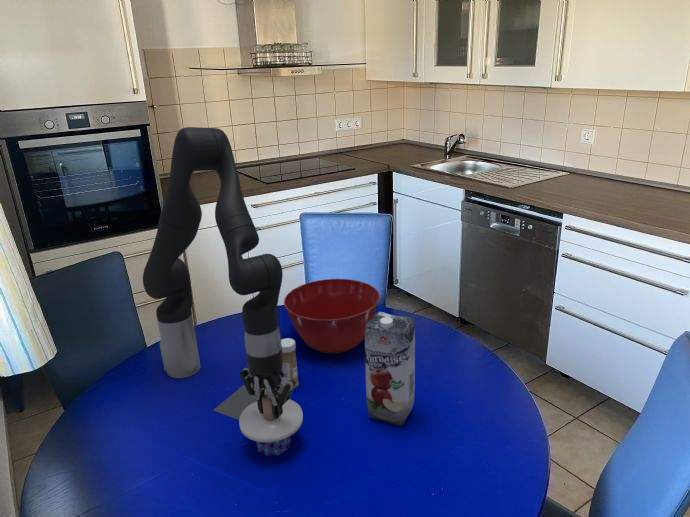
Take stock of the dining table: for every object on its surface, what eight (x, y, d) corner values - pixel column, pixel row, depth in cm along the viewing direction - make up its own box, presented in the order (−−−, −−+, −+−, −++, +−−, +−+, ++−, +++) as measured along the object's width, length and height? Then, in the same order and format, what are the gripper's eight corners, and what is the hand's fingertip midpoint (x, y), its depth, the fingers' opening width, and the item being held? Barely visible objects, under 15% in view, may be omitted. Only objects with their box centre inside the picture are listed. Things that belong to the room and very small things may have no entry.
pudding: (310, 440, 123) (309, 422, 121) (276, 473, 114) (274, 454, 112) (271, 423, 129) (269, 405, 127) (236, 452, 120) (233, 434, 118)
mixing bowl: (268, 350, 160) (263, 304, 155) (325, 313, 182) (322, 271, 176) (345, 378, 145) (343, 328, 139) (397, 334, 167) (397, 289, 161)
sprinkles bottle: (301, 386, 142) (298, 342, 137) (286, 392, 140) (282, 348, 135) (293, 378, 146) (290, 335, 141) (278, 384, 144) (274, 341, 139)
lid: (226, 430, 116) (223, 406, 114) (265, 395, 128) (262, 373, 126) (278, 450, 110) (276, 425, 108) (314, 411, 121) (313, 388, 119)
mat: (213, 412, 133) (212, 410, 133) (248, 383, 145) (248, 381, 145) (257, 428, 127) (257, 426, 127) (291, 396, 138) (290, 394, 138)
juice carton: (377, 398, 136) (376, 303, 126) (417, 409, 132) (418, 311, 122) (363, 419, 129) (360, 320, 119) (404, 431, 124) (404, 328, 114)
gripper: (225, 347, 112) (235, 414, 118) (280, 363, 106) (287, 433, 112) (248, 331, 118) (256, 396, 124) (301, 345, 112) (306, 413, 118)
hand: (270, 413), depth 118 cm, fingers closed on lid, 3 cm apart
